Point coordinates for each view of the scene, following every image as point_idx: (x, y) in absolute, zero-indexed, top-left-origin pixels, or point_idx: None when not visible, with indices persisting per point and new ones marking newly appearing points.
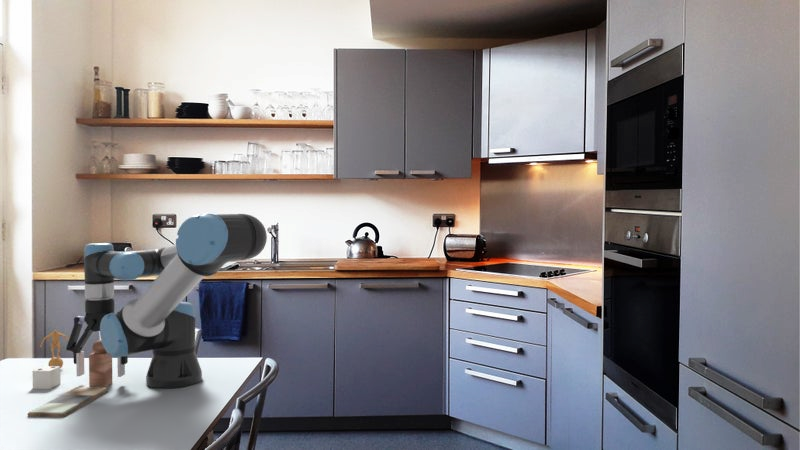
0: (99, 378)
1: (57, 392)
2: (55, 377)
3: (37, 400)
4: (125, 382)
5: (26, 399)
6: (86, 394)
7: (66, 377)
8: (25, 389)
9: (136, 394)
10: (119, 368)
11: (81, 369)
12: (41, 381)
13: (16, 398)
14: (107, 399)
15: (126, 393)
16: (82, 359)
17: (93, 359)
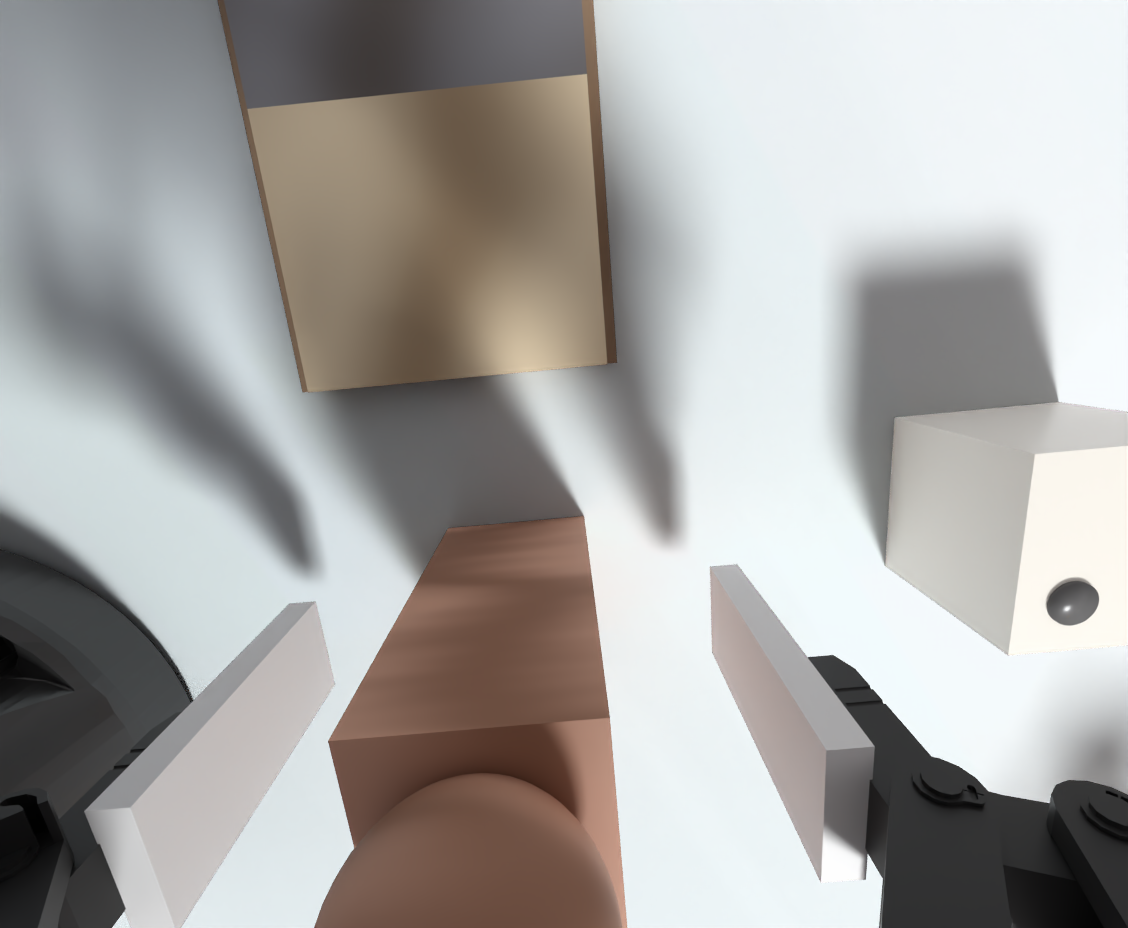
0: (482, 553)
1: (761, 310)
2: (942, 521)
3: (804, 15)
4: (362, 661)
5: (934, 34)
6: (338, 127)
7: (929, 724)
8: (1109, 361)
9: (5, 349)
10: (249, 654)
11: (729, 639)
12: (1031, 419)
13: (1054, 55)
14: (144, 153)
15: (117, 366)
16: (770, 741)
17: (529, 667)
